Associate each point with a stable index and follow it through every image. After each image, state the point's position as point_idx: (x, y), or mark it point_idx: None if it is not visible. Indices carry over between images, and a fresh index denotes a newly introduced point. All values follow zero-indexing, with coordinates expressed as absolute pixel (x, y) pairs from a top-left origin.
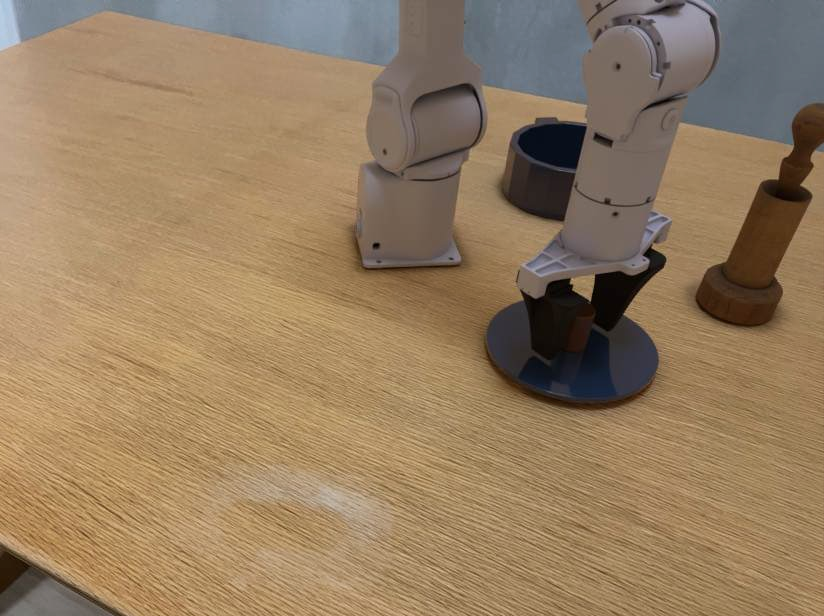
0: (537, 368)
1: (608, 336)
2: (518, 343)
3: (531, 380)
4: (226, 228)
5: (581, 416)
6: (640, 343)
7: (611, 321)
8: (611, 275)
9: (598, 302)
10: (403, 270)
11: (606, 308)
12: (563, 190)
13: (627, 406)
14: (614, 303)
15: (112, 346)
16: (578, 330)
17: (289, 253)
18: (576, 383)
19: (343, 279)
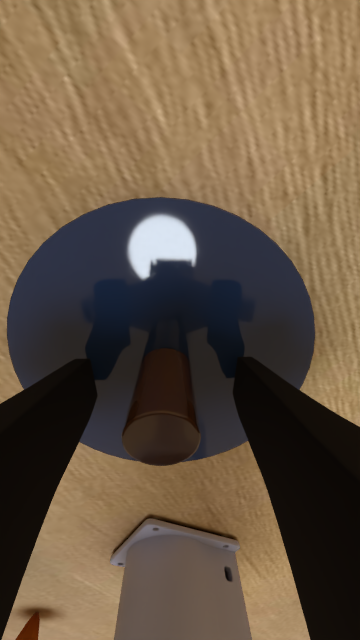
0: (268, 354)
1: (89, 350)
2: (235, 407)
3: (302, 338)
4: (280, 592)
5: (284, 232)
6: (43, 304)
7: (77, 374)
8: (1, 538)
9: (73, 430)
10: (207, 527)
11: (69, 409)
12: None
13: (191, 197)
14: (50, 417)
15: None
16: (186, 388)
17: (270, 566)
18: (252, 289)
19: (266, 535)
